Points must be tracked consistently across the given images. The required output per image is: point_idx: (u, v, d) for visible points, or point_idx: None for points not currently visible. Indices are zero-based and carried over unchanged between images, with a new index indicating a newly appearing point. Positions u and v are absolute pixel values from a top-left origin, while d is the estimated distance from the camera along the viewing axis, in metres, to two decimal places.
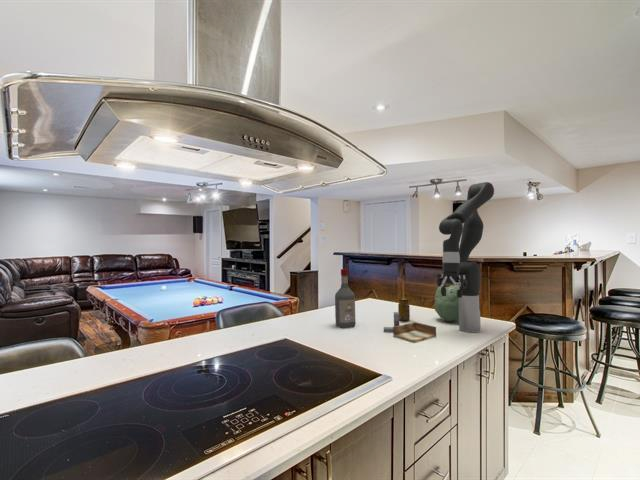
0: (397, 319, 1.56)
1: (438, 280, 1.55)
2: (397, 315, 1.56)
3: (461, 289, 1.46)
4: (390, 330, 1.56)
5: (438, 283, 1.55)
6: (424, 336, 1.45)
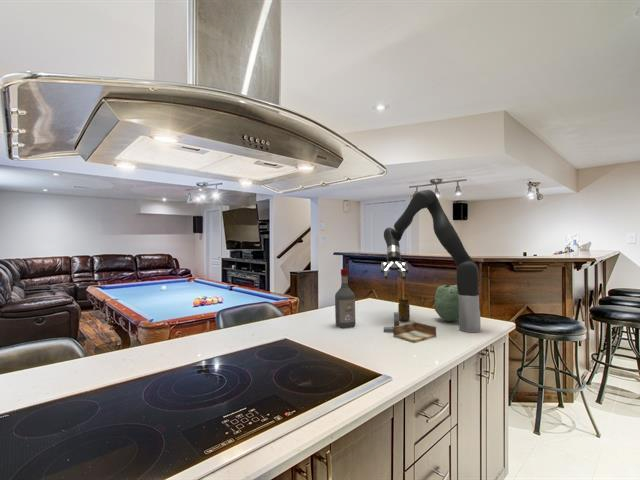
0: (397, 319, 1.56)
1: None
2: (397, 315, 1.56)
3: (384, 272, 1.73)
4: (390, 330, 1.56)
5: None
6: (424, 336, 1.45)
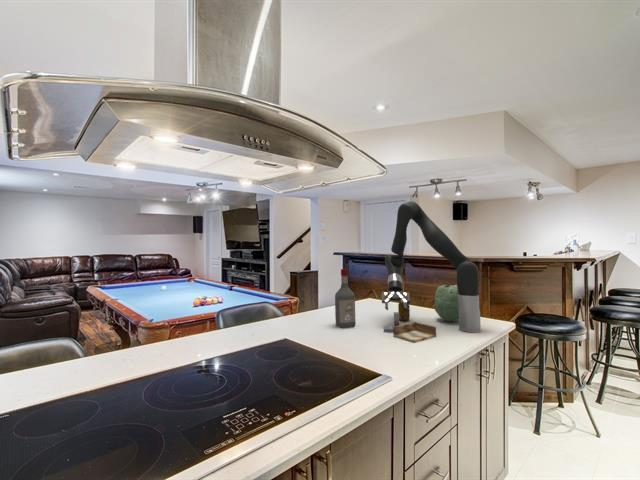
0: (397, 319, 1.56)
1: None
2: (397, 315, 1.56)
3: None
4: (390, 330, 1.56)
5: None
6: (424, 336, 1.45)
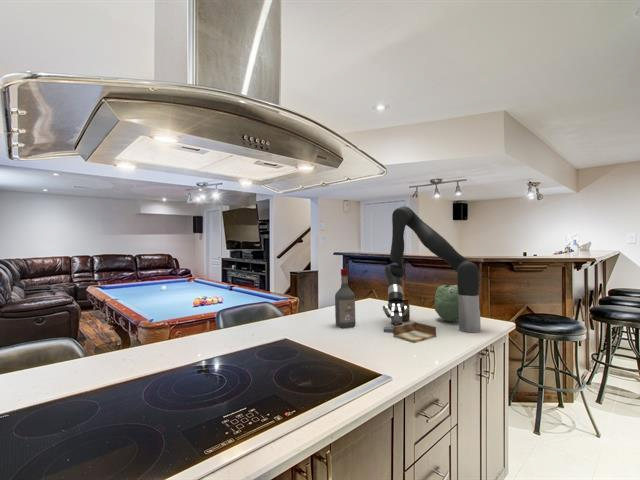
0: (397, 319, 1.56)
1: None
2: (397, 315, 1.56)
3: (390, 317, 1.59)
4: (390, 330, 1.56)
5: None
6: (424, 336, 1.45)
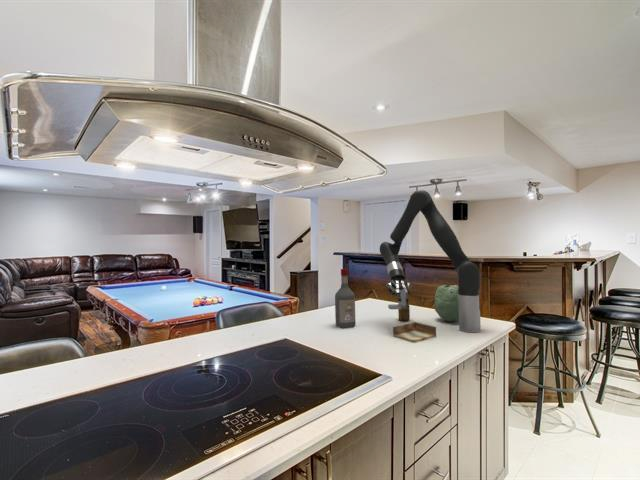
0: (404, 295, 1.53)
1: None
2: (404, 291, 1.53)
3: (396, 294, 1.55)
4: (397, 307, 1.53)
5: None
6: (424, 336, 1.45)
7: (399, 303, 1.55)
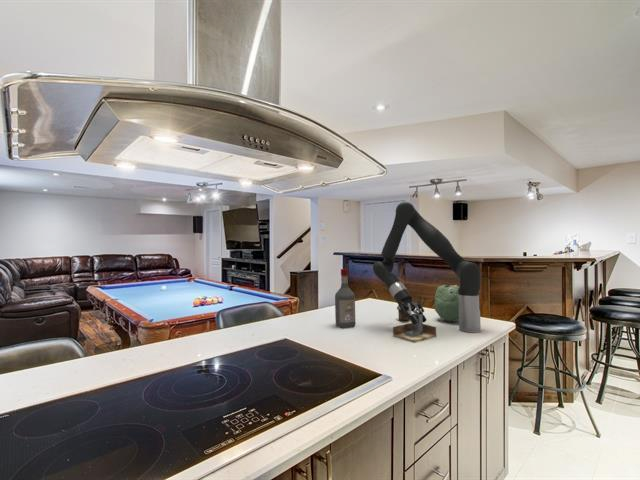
0: (421, 320, 1.47)
1: None
2: (421, 316, 1.47)
3: (408, 316, 1.47)
4: (416, 333, 1.45)
5: None
6: (424, 336, 1.45)
7: (415, 329, 1.48)
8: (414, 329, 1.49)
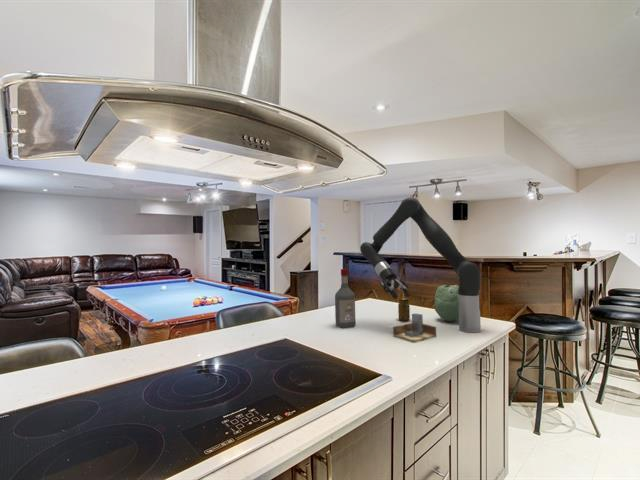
0: (421, 320, 1.47)
1: None
2: (421, 316, 1.47)
3: (390, 292, 1.56)
4: (416, 333, 1.45)
5: None
6: (424, 336, 1.45)
7: (415, 329, 1.48)
8: (414, 329, 1.49)
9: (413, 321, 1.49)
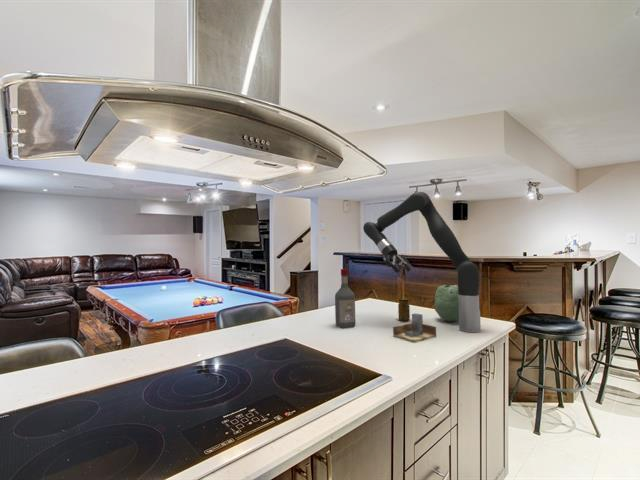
0: (421, 320, 1.47)
1: None
2: (421, 316, 1.47)
3: (391, 266, 1.65)
4: (416, 333, 1.45)
5: None
6: (424, 336, 1.45)
7: (415, 329, 1.48)
8: (414, 329, 1.49)
9: (413, 321, 1.49)
